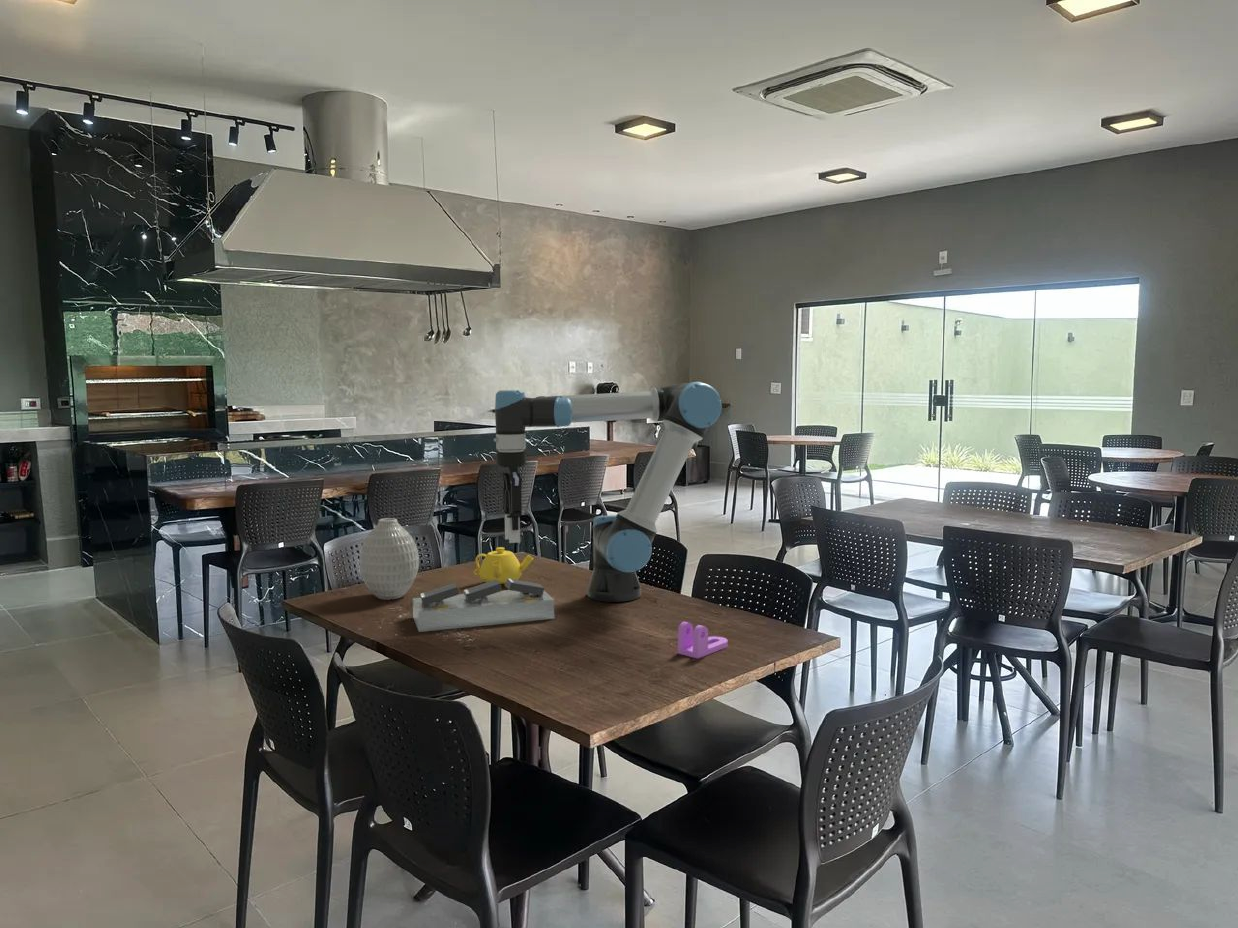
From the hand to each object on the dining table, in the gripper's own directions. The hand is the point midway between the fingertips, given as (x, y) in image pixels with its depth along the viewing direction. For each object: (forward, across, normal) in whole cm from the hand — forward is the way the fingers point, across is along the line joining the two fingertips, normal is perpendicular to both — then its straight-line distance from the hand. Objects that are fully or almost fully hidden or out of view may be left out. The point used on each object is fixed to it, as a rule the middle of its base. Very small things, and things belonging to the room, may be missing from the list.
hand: (512, 540), depth 221 cm
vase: (+20, -31, -29) cm, 47 cm away
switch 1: (+12, 0, -19) cm, 23 cm away
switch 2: (+12, 0, -8) cm, 15 cm away
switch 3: (+12, 0, +3) cm, 13 cm away
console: (+20, 0, -8) cm, 21 cm away
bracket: (+20, +43, +35) cm, 59 cm away
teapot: (+20, -34, +4) cm, 40 cm away
